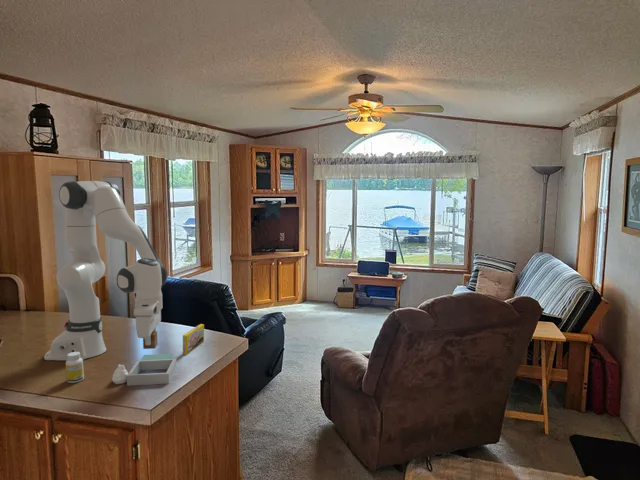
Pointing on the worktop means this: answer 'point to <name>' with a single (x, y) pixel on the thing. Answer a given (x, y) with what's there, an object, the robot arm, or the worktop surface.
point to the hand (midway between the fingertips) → (150, 342)
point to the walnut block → (153, 340)
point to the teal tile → (156, 357)
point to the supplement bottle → (74, 367)
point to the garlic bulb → (120, 375)
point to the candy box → (193, 339)
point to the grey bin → (151, 378)
